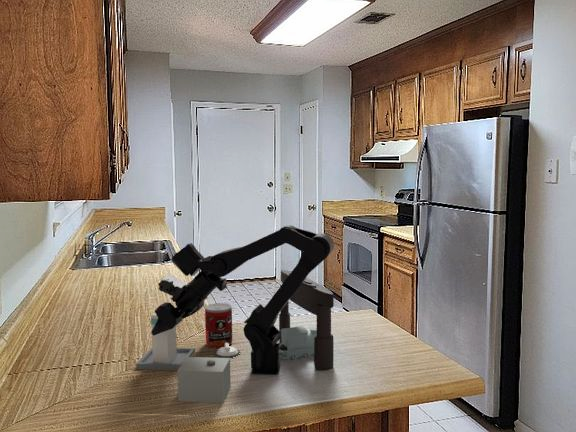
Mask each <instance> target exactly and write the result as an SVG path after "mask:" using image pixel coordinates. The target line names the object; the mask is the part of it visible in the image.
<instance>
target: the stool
mask: <svg viewBox="0 0 576 432" xmlns="http://www.w3.org/2000/svg"><path fill="white" fill-rule="evenodd" d="M291 272H292V271H289V270H286V269H281V270H280V282H281V284H280V286H281V285H282V284H283V283H284V281H285V280H286V279H287V277H288V276H289V275H290V273H291ZM334 297H335V296H334V293H333V291H331V290H330V289H328V288H327V287H325V286H323V285H321V284H319V283H318V282H316V281H314V280H313V279H309V278H307V277H306V278H305V280H304V281H303V282H302V284H301V285H300V286H299V288H298V289H297V290H296V291H295V293H294V294H293V295H292V297H291V298H290V299H289V301H288V302H287V303H286V304H285V306H284V307H283V308H282V310H281V311H280V313H279V315H278V327H279V328H278V330H279V331H280V332H281V336H280V339H279V341H278V342H280V343H281V342H282V343H281V344H279V351H281V352H279V359H285V360H288V359H291V360H297V358H299V357H304V358H310V356H313V355H314V357H313V360H314V361H313V362H314V363H313V364H314V365H313V366H314V369H315V370H317V371H321V370H322V371H323V370H324V371H325V370H330V369H333V368H334V358H335V357H334V352H335V351H334V343H335V342H334V335H333V333H332V309H333V308H334V306H335V305H334V304H335V303H334V301H335V300H334ZM290 301H291V302H292V303H294V304H295V305H297V306H299V307H300V308H301V309H303V310H305V311H306V312H308V313H311V314H313V315H315V316H316V327H311V328H310V332H308V330H307V328H306V327H305V326H303V325H299V326H292V327H291V313H290V312H289V309H290V307H289V305H290V304H289V303H290Z"/></svg>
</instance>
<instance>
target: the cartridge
mask: <svg viewBox="0 0 576 432" xmlns="http://www.w3.org/2000/svg"><path fill="white" fill-rule="evenodd" d="M157 320H158V316H157V315H156V313H155V312H154V313H152V314H150V325H151V331H152V330H153V328H154V326H155V324H156V322H157ZM151 344H152V345H151V346H152V347H151V348H152V351H153V362H159V363H170V362H171V361H173V360H174V359H175V358H177V348H178V347H177V346H178V345H177V326H176V327H174V328H173V329H170V330H167V331H165V332H162V333H159V334H157V335H153V334H152V333H151Z"/></svg>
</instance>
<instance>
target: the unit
mask: <svg viewBox="0 0 576 432" xmlns="http://www.w3.org/2000/svg"><path fill="white" fill-rule="evenodd" d="M176 371H177V372H176V373H177V398H178V399H177V400H178V402H192V403H193V402H195V403H206V404H207V403H212V404H213V403H215V404H224V403H225V401H226V398H227V396H228V394H229V391H230V390H231V388H232V386H231V383H232V382H231V359H230V358H218V357H203V356H202V357H198V356H196V357H195V356H194V357H193V356H192V357H187V358H186V360H185V361H184V362H183V364H182V365H181V366H180V368H179V369H178V370H176Z"/></svg>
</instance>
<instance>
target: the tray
mask: <svg viewBox="0 0 576 432" xmlns="http://www.w3.org/2000/svg"><path fill="white" fill-rule="evenodd" d="M194 353H196V348H195V347H177V358H175V359H174V360H173V361H171V362H170V363H159V362H153V351H152V347H151V348H150V349H149V350H148V351H147V352H146V353H144V355H143V356H142V357H141V358H140V359H139V360H138V361H137V362H136V363H135V369H136V370H157V371H158V370H159V371H160V370H163V371H164V370H165V371H166V370H167V371H168V370H170V371H177V370H178V369H179V368H180V366H181V365H182V364H183V362H184V361H185V360H186V358H187V357H193V356H194V355H195V354H194Z"/></svg>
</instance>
